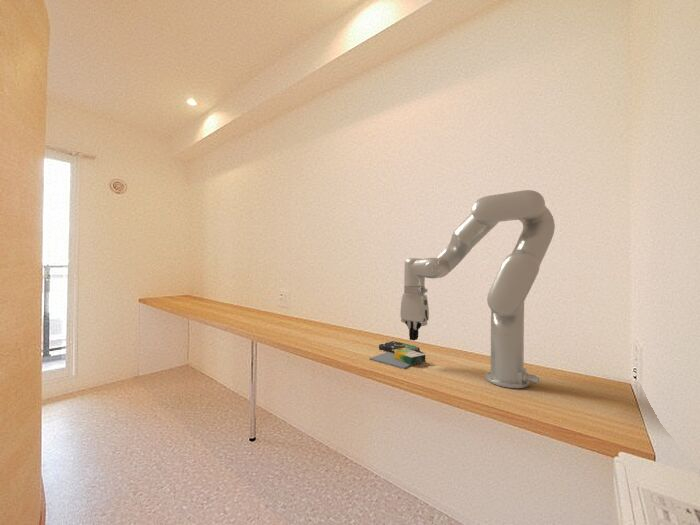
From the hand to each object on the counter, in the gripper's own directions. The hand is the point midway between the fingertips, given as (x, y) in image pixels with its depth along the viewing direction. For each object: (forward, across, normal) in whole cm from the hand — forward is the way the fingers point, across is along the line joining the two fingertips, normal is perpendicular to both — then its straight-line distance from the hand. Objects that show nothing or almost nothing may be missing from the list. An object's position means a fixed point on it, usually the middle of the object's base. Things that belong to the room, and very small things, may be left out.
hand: (413, 339), depth 115 cm
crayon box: (+7, -2, 0) cm, 8 cm away
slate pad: (+9, +8, +1) cm, 12 cm away
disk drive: (+10, +14, -12) cm, 21 cm away
